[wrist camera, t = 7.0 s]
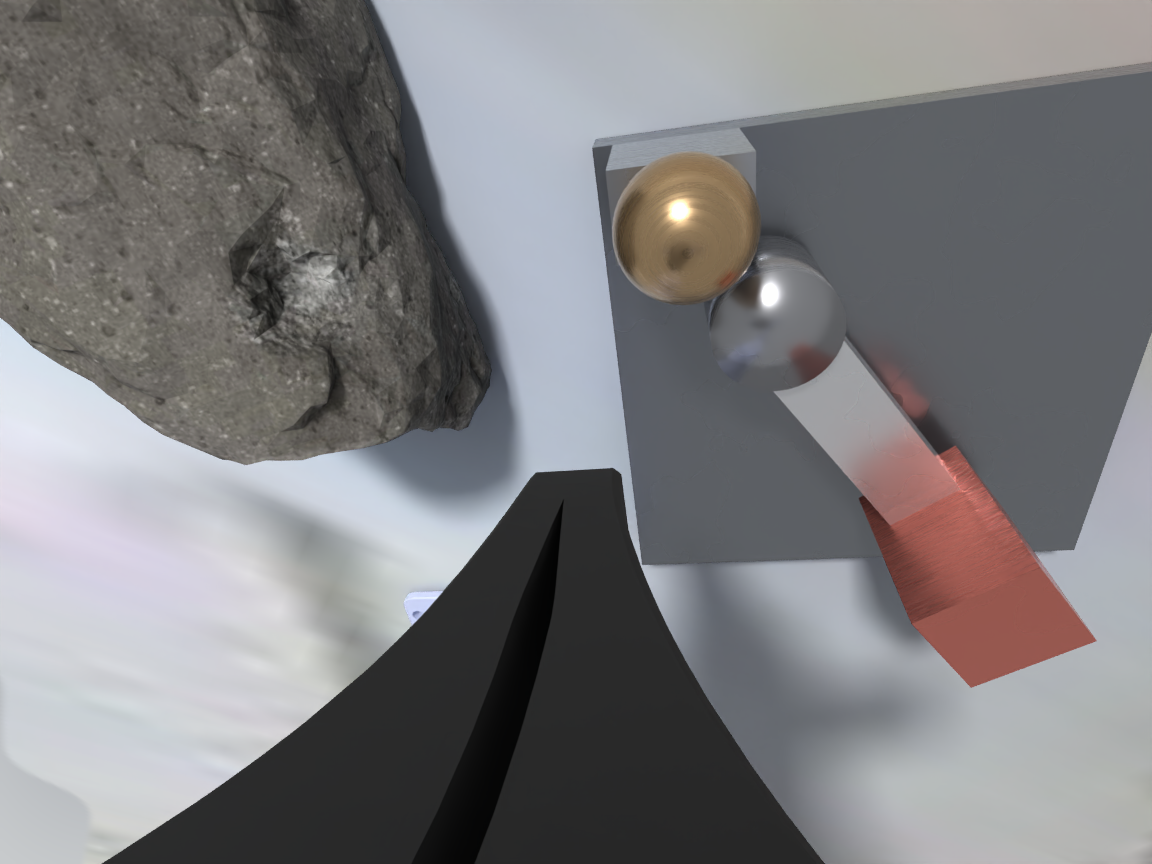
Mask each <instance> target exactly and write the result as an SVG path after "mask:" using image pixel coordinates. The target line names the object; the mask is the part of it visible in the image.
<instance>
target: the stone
mask: <svg viewBox="0 0 1152 864" xmlns="http://www.w3.org/2000/svg"><path fill="white" fill-rule="evenodd" d="M400 117H401V100H400V93H399V90H398V88H397V85H396V82H395V80H394V77H393V75H392V72H391V70H390V67H389V64H388V62H387V59H386V57H385V54H384V51H383V49H382V46H381V44H380V41H379V38H378V35H377V33H376V30H375V27H374V24H373V22H372V19H371V16H370V13H369V11H368V8H367V6H366V4H365V2H364V0H0V318H1V319H3V320H4V321H5V322H7V323H8V324H9V325H10V326H11V327H12V328H13V329H14V330H15V331H16V332H18V333H19V334H20V335H21V336H22V337H23V338H24V339H25V340H26V341H27V342H28V343H29V344H30V345H31V346H32V347H33V348H35V349H37V350H38V351H40V352H41V353H43V354H44V355H46V356H47V357H49V358H50V359H52V360H54V361H55V362H57V363H58V364H60V365H62V366H64V367H65V368H67V369H69V370H71V371H73V372H75V373H77V374H79V375H81V376H83V377H84V378H86V379H88V380H90V381H92V382H94V383H95V384H96V385H97V386H98V387H99V388H101V389H102V390H103V391H104V392H105V393H106V394H108V395H109V396H110V397H112V398H113V399H115V400H116V401H118V402H119V403H121V404H122V405H124V406H125V407H126V408H127V409H129V410H130V411H131V412H132V413H133V414H134V415H136V416H137V417H138V418H139V419H140V420H141V421H143V422H144V423H146V424H147V425H149V426H150V427H152V428H153V429H155V430H156V431H158V432H159V433H161V434H163V435H165V436H167V437H169V438H172V439H174V440H177V441H179V442H181V443H184V444H186V445H189V446H191V447H194V448H196V449H198V450H201V451H203V452H206V453H208V454H210V455H213V456H215V457H218V458H220V459H222V460H231V461H234V462H238V463H241V464H244V465H249V464H253V463H257V462H261V461H265V460H278V461H285V460H304V459H308V458H311V457H315V456H318V455H322V454H328V453H334V452H340V451H347V450H353V449H360V448H365V447H369V446H373V445H377V444H382V443H385V442H388V441H391V440H393V439H395V438H397V437H399V436H401V435H403V434H405V433H407V432H409V431H411V430H413V429H418V428H419V429H423V430H427V431H431V432H433V431H434V430H436V429H438V428H451V429H454V430H457V431H460V430H462V429H464V428H466V427H468V426H469V424H470V421H471V419H472V416H473V414H474V412H475V410H476V409H477V407H478V406H479V404H480V403H481V401H482V400H483V397H484V395H485V393H486V391H487V389H488V388H489V386H490V374H491V371H492V370H491V366H490V362H489V360H488V358H487V356H486V353H485V351H484V348H483V345H482V341H481V338H480V336H479V333H478V330H477V327H476V324H475V322H474V321H473V320H472V318H471V317H470V315H469V312H468V309H467V306H466V303H465V300H464V297H463V295H462V292H461V290H460V288H459V286H458V284H457V282H456V280H455V278H454V277H453V275H452V273H451V271H450V269H449V268H448V266H447V264H446V261H445V259H444V256H443V254H442V251H441V250H440V248H439V247H438V245H437V244H436V242H435V240H434V239H433V237H432V236H431V234H430V232H429V231H428V229H427V227H426V221H425V218H424V216H423V214H422V212H421V210H420V208H419V206H418V204H417V202H416V201H415V199H414V198H413V197H412V195H411V194H410V192H409V191H408V190H407V188H406V154H405V149H404V145H403V141H402V137H401V133H400V129H399V126H400Z"/></svg>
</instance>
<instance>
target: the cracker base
mask: <svg viewBox="0 0 1152 864" xmlns="http://www.w3.org/2000/svg"><path fill="white" fill-rule="evenodd" d="M592 149H593V158H594V166H595V174H596V183H597V191H598V200H599V208H600V216H601V225H602V233H603V241H604V250H605V258H606V266H607V275H608V283H609V291H610V300H611V308H612V316H613V325H614V333H615V342H616V350H617V358H618V367H619V375H620V383H621V392H622V400H623V408H624V417H625V425H626V433H627V442H628V450H629V458H630V467H631V475H632V484H633V492H634V500H635V509H636V517H637V525H638V534H639V542H640V550H641V559H642V565H653V564H682V563H711V562H739V561H768V560H797V559H826V558H854V557H883V555H882V553H881V550H880V548H879V546H878V543H877V541H876V539H875V536H874V534H873V532H872V529H871V527H870V524H869V522H868V520H867V517H866V515H865V513H864V510H863V508H862V506H861V503H860V501H859V497H861V496H863V494H862V493H861V491H860V490H859V489H858V488H857V487H856V486H855V485H854V483H853V482H852V481H851V480H850V479H849V478H848V477H847V475H846V474H845V473H844V472H843V471H842V470H841V468H840V467H839V466H838V465H837V464H836V463H835V462H834V460H833V459H832V458H831V457H830V456H829V455H828V454H827V452H826V451H825V450H824V449H823V448H822V447H821V446H820V444H819V443H818V442H817V441H816V440H815V439H814V437H813V436H812V435H811V434H810V433H809V432H808V431H807V429H806V428H805V427H804V426H803V425H802V424H801V423H800V421H799V420H798V419H797V418H796V417H795V416H794V415H793V413H792V412H791V411H790V410H789V409H788V408H787V406H786V405H785V404H784V403H783V402H782V401H781V400H780V398H779V397H778V396H777V395H776V394H775V393H774V392H773V391H760V390H755V389H751V388H748V387H745V386H742V385H740V384H739V383H737V382H735V381H734V380H732V379H731V378H730V377H728V376H727V375H726V374H725V373H724V372H723V370H722V369H721V368H720V366H719V365H718V363H717V361H716V359H715V357H714V354H713V351H712V346H711V340H710V335H709V329H708V324H707V318H706V312H705V307H704V302H706V301H709V300H711V299H713V298H716V297H717V296H719V295H721V294H723V293H724V292H726V291H727V290H728V289H730V288H731V287H732V286H733V285H734V284H735V283H736V282H738V280H739V279H740V278H741V277H742V276H743V275H744V273H745V272H746V271H747V269H748V268H749V266H750V264H751V262H752V260H753V258H754V256H755V253H756V251H757V248H758V244H759V239H760V236H770V235H773V236H781V237H785V238H788V239H791V240H793V241H795V242H797V243H799V244H800V245H802V246H803V247H804V248H805V249H807V250H808V251H809V253H810V254H811V255H812V256H813V258H814V259H815V261H816V262H817V264H818V265H819V267H820V269H821V270H822V272H823V273H824V275H825V276H826V278H827V279H828V281H829V282H830V284H831V285H832V287H833V289H834V290H835V292H836V293H837V295H838V296H839V298H840V299H841V302H842V304H843V306H844V309H845V313H846V321H847V325H846V334H845V336H846V337H847V338H848V340H849V341H850V342H851V343H852V345H853V346H854V347H855V348H856V350H857V351H858V352H859V354H860V355H861V356H862V357H863V359H864V360H865V361H866V363H867V364H868V365H869V366H870V368H871V369H872V370H873V372H874V373H875V374H876V375H877V377H878V378H879V379H880V381H881V382H882V383H883V384H884V386H885V387H886V388H887V390H888V391H889V392H890V393H891V395H892V396H893V397H894V398H895V400H896V401H897V402H898V404H899V405H900V406H901V407H902V409H903V410H904V411H905V413H906V414H907V415H908V416H909V418H910V419H911V420H912V422H913V423H914V424H915V425H916V427H917V428H918V429H919V431H920V432H921V433H922V434H923V436H924V437H925V438H926V440H927V441H928V442H929V443H930V445H931V446H932V447H933V449H934V450H935V451H936V452H937V454H938V455H939V454H941V453H943V452H944V451H946V450H948V449H950V448H952V447H954V446H956V447H957V448H958V449H959V451H960V452H961V453H962V455H963V456H964V457H965V459H966V460H967V461H968V463H969V464H970V465H971V467H972V468H973V469H974V470H975V472H976V473H977V474H978V476H979V477H980V478H981V480H982V481H983V482H984V484H985V485H986V486H987V488H988V489H989V490H990V492H991V493H992V494H993V495H994V497H995V498H996V499H997V501H998V502H999V503H1000V505H1001V506H1002V507H1003V509H1004V510H1005V511H1006V513H1007V514H1008V516H1009V517H1010V518H1011V520H1012V521H1013V523H1014V524H1015V526H1016V527H1017V528H1018V530H1019V531H1020V533H1021V534H1022V536H1023V537H1024V538H1025V540H1026V541H1027V543H1028V544H1029V545H1030V547H1031V548H1032V550H1033V551H1055V550H1074V549H1075V546H1076V543H1077V540H1078V537H1079V535H1080V532H1081V529H1082V526H1083V523H1084V520H1085V518H1086V515H1087V512H1088V509H1089V506H1090V504H1091V501H1092V498H1093V495H1094V492H1095V490H1096V487H1097V484H1098V481H1099V478H1100V476H1101V473H1102V470H1103V467H1104V464H1105V462H1106V459H1107V456H1108V453H1109V450H1110V448H1111V445H1112V442H1113V439H1114V436H1115V434H1116V431H1117V428H1118V425H1119V422H1120V419H1121V417H1122V414H1123V411H1124V408H1125V405H1126V403H1127V400H1128V397H1129V394H1130V391H1131V389H1132V386H1133V383H1134V380H1135V377H1136V375H1137V372H1138V369H1139V366H1140V363H1141V361H1142V358H1143V355H1144V352H1145V349H1146V347H1147V344H1148V341H1149V338H1150V335H1151V333H1152V62H1151V63H1144V64H1136V65H1129V66H1122V67H1115V68H1108V69H1100V70H1093V71H1086V72H1079V73H1072V74H1064V75H1057V76H1050V77H1043V78H1035V79H1028V80H1021V81H1014V82H1007V83H999V84H992V85H985V86H978V87H971V88H963V89H956V90H949V91H942V92H935V93H927V94H920V95H913V96H906V97H899V98H891V99H884V100H877V101H870V102H863V103H855V104H848V105H841V106H834V107H827V108H819V109H812V110H805V111H798V112H791V113H783V114H776V115H769V116H762V117H754V118H747V119H740V120H733V121H726V122H718V123H711V124H704V125H697V126H690V127H682V128H675V129H668V130H661V131H654V132H646V133H639V134H632V135H625V136H618V137H610V138H603V139H596V140H595V143H594V145H593V147H592Z"/></svg>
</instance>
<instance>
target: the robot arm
mask: <svg viewBox="0 0 1152 864" xmlns="http://www.w3.org/2000/svg"><path fill="white" fill-rule="evenodd" d="M404 607H405V610H406V612H407V615H408V617H409V619H410V622H411V624H412V626H411V627H410V628H409V629H408V630H407V631H406V632H405V633H404V634H403V635H402V636H401V637H400V638H399V639H398V640H397V641H396V642H395V643H394V644H393V645H392V646H391V647H390V648H389V649H388V650H387V651H386V652H385V653H384V654H383V655H382V656H381V657H380V658H379V659H378V660H377V661H376V662H375V663H374V664H373V665H372V666H370V667H369V668H368V669H367V670H366V671H365V672H364V673H363V674H362V675H360V676H359V677H358V678H357V679H356V680H355V681H353V682H352V683H351V684H350V685H349V686H347V687H346V688H345V689H344V690H343V691H342V692H340V693H339V694H338V695H337V696H336V697H334V698H333V699H332V700H331V701H330V702H329V703H327V704H326V705H325V706H324V707H323V708H321V709H320V710H319V711H318V712H317V713H316V714H314V715H313V716H312V717H311V718H310V719H308V720H307V721H306V722H305V723H304V724H302V725H301V726H300V727H299V728H297V729H296V730H295V731H293V732H292V733H291V734H290V735H288V736H287V737H286V738H284V739H283V740H282V741H280V742H279V743H278V744H276V745H275V746H274V747H273V748H271V749H270V750H269V751H267V752H266V753H265V754H263V755H262V756H261V757H259V758H258V759H257V760H255V761H254V762H252V763H251V764H250V765H248V766H247V767H246V768H244V769H243V770H241V771H240V772H239V773H237V774H236V775H235V776H233V777H232V778H230V779H229V780H228V781H226V782H225V783H223V784H222V785H221V786H219V787H218V788H216V789H215V790H213V791H212V792H211V793H209V794H208V795H206V796H205V797H203V798H202V799H200V800H199V801H198V802H196V803H195V804H193V805H191V806H190V807H188V808H187V809H185V810H184V811H182V812H181V813H179V814H178V815H176V816H175V817H173V818H172V819H170V820H169V821H167V822H165V823H164V824H162V825H161V826H159V827H158V828H156V829H155V830H153V831H152V832H150V833H149V834H147V835H146V836H144V837H142V838H141V839H139V840H138V841H136V842H135V843H133V844H132V845H130V846H129V847H127V848H126V849H124V850H123V851H121V852H120V853H118V854H116V855H115V856H113V857H112V858H110V859H108V860H107V861H105V862H104V863H102V864H825V863H824V862H823V861H822V860H821V858H820V857H819V856H818V855H817V853H816V852H815V851H814V849H813V848H812V847H811V846H810V844H809V843H808V842H807V840H806V839H805V838H804V836H803V835H802V834H801V833H800V831H799V830H798V829H797V827H796V826H795V825H794V823H793V822H792V821H791V819H790V818H789V817H788V816H787V814H786V813H785V812H784V810H783V809H782V807H781V806H780V805H779V803H778V802H777V800H776V799H775V798H774V796H773V795H772V794H771V792H770V791H769V789H768V788H767V787H766V785H765V784H764V782H763V781H762V780H761V778H760V777H759V776H758V774H757V773H756V771H755V770H754V769H753V767H752V766H751V764H750V763H749V761H748V760H747V758H746V757H745V755H744V754H743V752H742V751H741V749H740V748H739V746H738V745H737V743H736V742H735V740H734V738H733V737H732V735H731V734H730V732H729V731H728V729H727V728H726V726H725V725H724V723H723V722H722V720H721V719H720V717H719V716H718V714H717V713H716V711H715V710H714V708H713V706H712V705H711V703H710V702H709V700H708V699H707V697H706V695H705V694H704V692H703V690H702V688H701V687H700V685H699V683H698V682H697V680H696V678H695V676H694V675H693V673H692V671H691V670H690V668H689V666H688V664H687V663H686V661H685V659H684V657H683V655H682V653H681V651H680V650H679V648H678V646H677V644H676V642H675V640H674V638H673V637H672V635H671V633H670V631H669V629H668V627H667V625H666V623H665V621H664V618H663V616H662V614H661V612H660V610H659V608H658V606H657V603H656V601H655V599H654V597H653V594H652V592H651V590H650V588H649V586H648V583H647V581H646V578H645V576H644V573H643V571H642V568H641V566H640V563H639V560H638V557H637V554H636V551H635V549H634V546H633V543H632V540H631V537H630V534H629V531H628V524H627V516H626V508H625V500H624V493H623V485H622V477H621V474H620V473H619V472H618V471H616V470H615V469H614V468H607V469H590V470H573V471H555V472H538V473H535V474H534V475H533V476H532V477H531V479H530V480H529V481H528V483H527V484H526V485H525V487H524V488H523V490H522V491H521V492H520V494H519V495H518V497H517V498H516V499H515V501H514V502H513V504H512V505H511V506H510V508H509V509H508V511H507V512H506V513H505V515H504V516H503V517H502V519H501V520H500V521H499V523H498V524H497V526H496V527H495V528H494V530H493V531H492V532H491V533H490V535H489V536H488V537H487V539H486V540H485V541H484V542H483V544H482V545H481V546H480V548H479V549H478V550H477V551H476V553H475V554H474V555H473V556H472V558H471V559H470V560H469V562H468V563H467V564H466V565H465V566H464V568H463V569H462V570H461V571H460V573H459V574H458V575H457V576H456V577H455V578H454V579H453V581H452V582H451V583H450V584H449V585H448V586H447V587H446V589H445V590H444V591H429V592H412V593H409V594H408V595H407V597H406V599H405V601H404ZM419 611H420V612H419Z"/></svg>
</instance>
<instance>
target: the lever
mask: <svg viewBox="0 0 1152 864" xmlns="http://www.w3.org/2000/svg"><path fill="white" fill-rule="evenodd" d="M704 307H705V312H706V318H707V324H708V329H709V335H710V340H711V346H712V351H713V354H714V357H715V359H716V361H717V363H718V365H719V366H720V368H721V369H722V370H723V372H724V373H725V374H726V375H727V376H728V377H730V378H731V379H732V380H734V381H735V382H737V383H739V384H740V385H742V386H745V387H748V388H751V389H755V390H760V391H773V392H774V393H775V394H776V395H777V396H778V397H779V398H780V400H781V401H782V402H783V403H784V404H785V405H786V406H787V408H788V409H789V410H790V411H791V412H792V413H793V415H794V416H795V417H796V418H797V419H798V420H799V421H800V423H801V424H802V425H803V426H804V427H805V428H806V429H807V431H808V432H809V433H810V434H811V435H812V436H813V437H814V439H815V440H816V441H817V442H818V443H819V444H820V446H821V447H822V448H823V449H824V450H825V451H826V452H827V454H828V455H829V456H830V457H831V458H832V459H833V460H834V462H835V463H836V464H837V465H838V466H839V467H840V468H841V470H842V471H843V472H844V473H845V474H846V475H847V477H848V478H849V479H850V480H851V481H852V482H853V483H854V485H855V486H856V487H857V488H858V489H859V490H860V491H861V493H862V494H863V496H861V497H859V501H860V503H861V506H862V508H863V510H864V513H865V515H866V517H867V520H868V522H869V524H870V527H871V529H872V532H873V534H874V536H875V539H876V541H877V543H878V546H879V548H880V550H881V553H882V555H883V558H884V560H885V562H886V565H887V567H888V569H889V572H890V574H891V576H892V579H893V581H894V584H895V586H896V588H897V591H898V593H899V595H900V598H901V600H902V602H903V605H904V607H905V610H906V612H907V614H908V617H909V619H910V621H911V624H912V625H913V626H914V627H915V628H916V629H917V630H918V631H919V632H920V633H921V634H922V636H923V637H924V638H925V639H926V640H927V641H928V642H929V643H930V644H931V645H932V646H933V647H934V648H935V650H936V651H937V652H938V653H939V654H940V655H941V656H942V657H943V658H944V659H945V660H946V661H947V662H948V663H949V665H950V666H951V667H952V668H953V669H954V670H955V671H956V672H957V673H958V674H959V675H960V676H961V677H962V678H963V680H964V681H965V682H966V683H967V684H968V685H969V686H970V687H971V688H972V687H974V686H977V685H980V684H982V683H985V682H988V681H990V680H993V679H996V678H998V677H1001V676H1004V675H1007V674H1009V673H1012V672H1015V671H1017V670H1020V669H1023V668H1025V667H1028V666H1031V665H1033V664H1036V663H1039V662H1041V661H1044V660H1047V659H1050V658H1052V657H1055V656H1058V655H1060V654H1063V653H1066V652H1068V651H1071V650H1074V649H1076V648H1079V647H1082V646H1085V645H1087V644H1090V643H1093V642H1095V641H1096V639H1095V638H1094V636H1093V635H1092V634H1091V632H1090V631H1089V629H1088V628H1087V626H1086V625H1085V624H1084V622H1083V621H1082V619H1081V618H1080V617H1079V615H1078V614H1077V612H1076V611H1075V609H1074V608H1073V607H1072V605H1071V604H1070V602H1069V601H1068V599H1067V598H1066V597H1065V595H1064V594H1063V592H1062V591H1061V590H1060V588H1059V587H1058V585H1057V584H1056V582H1055V581H1054V580H1053V578H1052V577H1051V575H1050V574H1049V572H1048V571H1047V570H1046V568H1045V567H1044V565H1043V564H1042V563H1041V561H1040V560H1039V558H1038V557H1037V555H1036V554H1035V553H1034V551H1033V550H1032V548H1031V547H1030V545H1029V544H1028V543H1027V541H1026V540H1025V538H1024V537H1023V536H1022V534H1021V533H1020V531H1019V530H1018V528H1017V527H1016V526H1015V524H1014V523H1013V521H1012V520H1011V518H1010V517H1009V516H1008V514H1007V513H1006V511H1005V510H1004V509H1003V507H1002V506H1001V505H1000V503H999V502H998V501H997V499H996V498H995V497H994V495H993V494H992V493H991V492H990V490H989V489H988V488H987V486H986V485H985V484H984V482H983V481H982V480H981V478H980V477H979V476H978V474H977V473H976V472H975V470H974V469H973V468H972V467H971V465H970V464H969V463H968V461H967V460H966V459H965V457H964V456H963V455H962V453H961V452H960V451H959V449H958V448H957V447H956V446H954V447H952V448H950V449H948V450H946V451H944V452H943V453H941V454H939V455H938V454H937V452H936V451H935V450H934V449H933V447H932V446H931V445H930V443H929V442H928V441H927V440H926V438H925V437H924V436H923V434H922V433H921V432H920V431H919V429H918V428H917V427H916V425H915V424H914V423H913V422H912V420H911V419H910V418H909V416H908V415H907V414H906V413H905V411H904V410H903V409H902V407H901V406H900V405H899V404H898V402H897V401H896V400H895V398H894V397H893V396H892V395H891V393H890V392H889V391H888V390H887V388H886V387H885V386H884V384H883V383H882V382H881V381H880V379H879V378H878V377H877V375H876V374H875V373H874V372H873V370H872V369H871V368H870V366H869V365H868V364H867V363H866V361H865V360H864V359H863V357H862V356H861V355H860V354H859V352H858V351H857V350H856V348H855V347H854V346H853V345H852V343H851V342H850V341H849V340H848V338H847V337H846V336H845V334H846V325H847V321H846V313H845V309H844V306H843V304H842V302H841V299H840V298H839V296H838V295H837V293H836V292H835V290H834V289H833V287H832V285H831V284H830V282H829V281H828V279H827V278H826V276H825V275H824V273H823V272H822V270H821V269H820V267H819V265H818V264H817V262H816V261H815V259H814V258H813V256H812V255H811V254H810V253H809V251H808V250H807V249H805V248H804V247H803V246H802V245H800V244H799V243H797V242H795V241H793V240H791V239H788V238H785V237H781V236H773V235H770V236H760V239H759V244H758V248H757V251H756V253H755V256H754V258H753V260H752V262H751V264H750V266H749V268H748V269H747V271H746V272H745V273H744V275H743V276H742V277H741V278H740V279H739V280H738V282H736V283H735V284H734V285H733V286H732V287H731V288H730V289H728V290H727V291H726V292H724V293H723V294H721V295H719V296H717V297H716V298H713V299H711V300H709V301H706V302H704Z"/></svg>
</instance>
